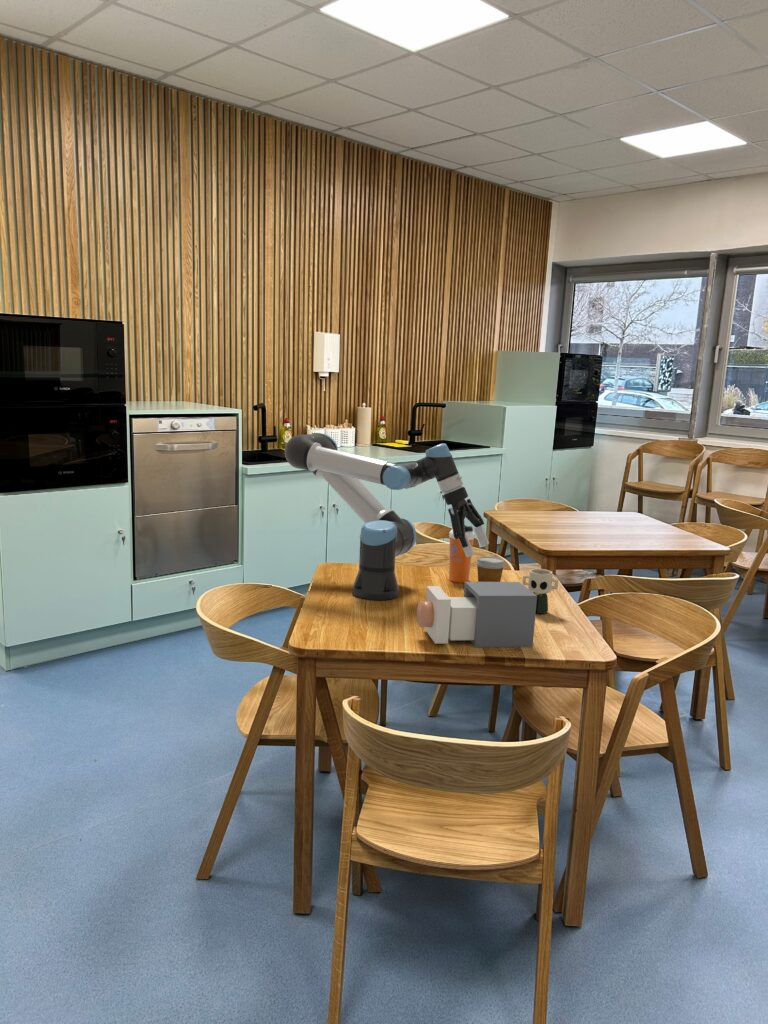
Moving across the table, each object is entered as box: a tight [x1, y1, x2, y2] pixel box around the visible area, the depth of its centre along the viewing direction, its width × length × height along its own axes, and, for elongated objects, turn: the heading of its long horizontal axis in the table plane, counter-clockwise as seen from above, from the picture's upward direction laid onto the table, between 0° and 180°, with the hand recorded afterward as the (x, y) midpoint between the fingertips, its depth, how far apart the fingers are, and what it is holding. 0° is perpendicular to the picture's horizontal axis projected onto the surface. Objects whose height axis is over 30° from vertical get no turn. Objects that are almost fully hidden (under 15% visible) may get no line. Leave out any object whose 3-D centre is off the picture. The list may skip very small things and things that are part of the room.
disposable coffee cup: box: [475, 556, 506, 582], centre depth 252 cm, size 10×10×12 cm
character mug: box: [522, 568, 559, 614], centre depth 234 cm, size 11×7×13 cm, turn 69°
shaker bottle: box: [448, 524, 476, 584], centre depth 267 cm, size 9×9×20 cm
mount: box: [463, 581, 537, 648], centre depth 207 cm, size 16×14×14 cm
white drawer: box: [416, 585, 477, 645], centre depth 205 cm, size 21×13×12 cm, turn 100°
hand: (478, 550), depth 245 cm, fingers open, 13 cm apart
